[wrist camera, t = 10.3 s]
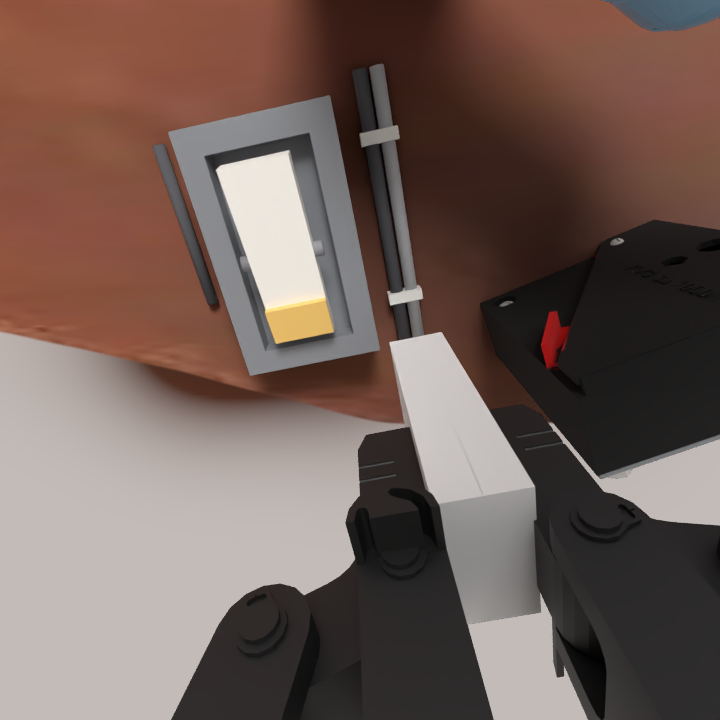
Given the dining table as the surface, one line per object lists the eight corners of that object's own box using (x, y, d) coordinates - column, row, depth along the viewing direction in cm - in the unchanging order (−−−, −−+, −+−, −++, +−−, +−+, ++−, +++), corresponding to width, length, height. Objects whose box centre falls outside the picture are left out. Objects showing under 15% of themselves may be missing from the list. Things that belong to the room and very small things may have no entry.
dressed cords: (348, 74, 35) (348, 70, 34) (386, 65, 35) (388, 61, 34) (396, 342, 45) (397, 347, 44) (426, 336, 45) (429, 341, 43)
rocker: (210, 167, 30) (203, 174, 29) (299, 147, 30) (298, 153, 28) (271, 334, 38) (268, 347, 37) (341, 319, 38) (342, 332, 36)
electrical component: (501, 371, 47) (603, 500, 28) (474, 286, 43) (571, 372, 25) (666, 308, 44) (892, 405, 26) (652, 212, 41) (907, 246, 22)
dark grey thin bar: (155, 146, 37) (150, 146, 36) (166, 144, 37) (161, 143, 36) (209, 302, 43) (206, 305, 42) (219, 300, 42) (216, 303, 42)
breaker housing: (191, 138, 37) (164, 132, 31) (332, 106, 36) (330, 95, 31) (259, 351, 45) (247, 376, 39) (375, 327, 44) (380, 350, 39)
